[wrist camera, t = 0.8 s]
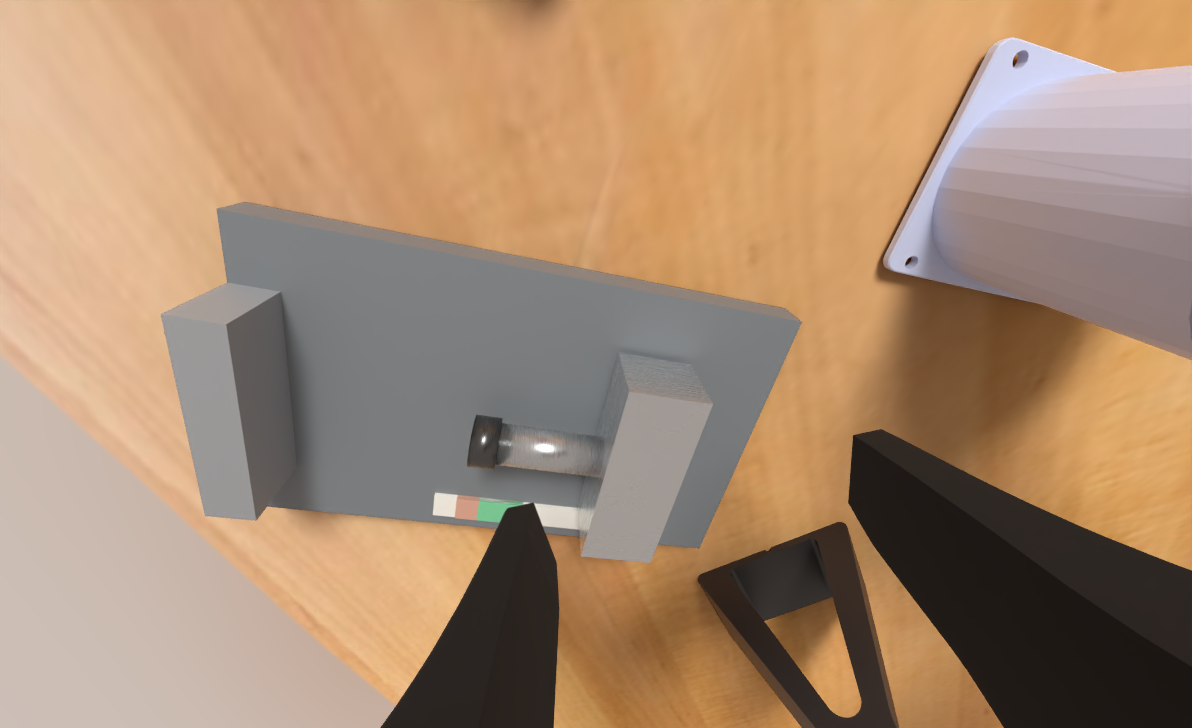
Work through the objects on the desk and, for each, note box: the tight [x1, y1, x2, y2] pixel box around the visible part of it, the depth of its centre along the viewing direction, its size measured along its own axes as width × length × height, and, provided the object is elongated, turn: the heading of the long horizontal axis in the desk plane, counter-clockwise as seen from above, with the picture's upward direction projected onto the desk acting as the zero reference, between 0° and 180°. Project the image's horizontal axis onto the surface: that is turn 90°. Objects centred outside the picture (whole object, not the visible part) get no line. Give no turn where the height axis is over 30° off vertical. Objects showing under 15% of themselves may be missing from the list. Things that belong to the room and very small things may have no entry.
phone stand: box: [698, 522, 899, 728], centre depth 23 cm, size 9×6×12 cm, turn 116°
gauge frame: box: [161, 202, 802, 548], centre depth 19 cm, size 21×13×4 cm, turn 77°
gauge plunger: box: [467, 352, 713, 563], centre depth 19 cm, size 8×10×3 cm
